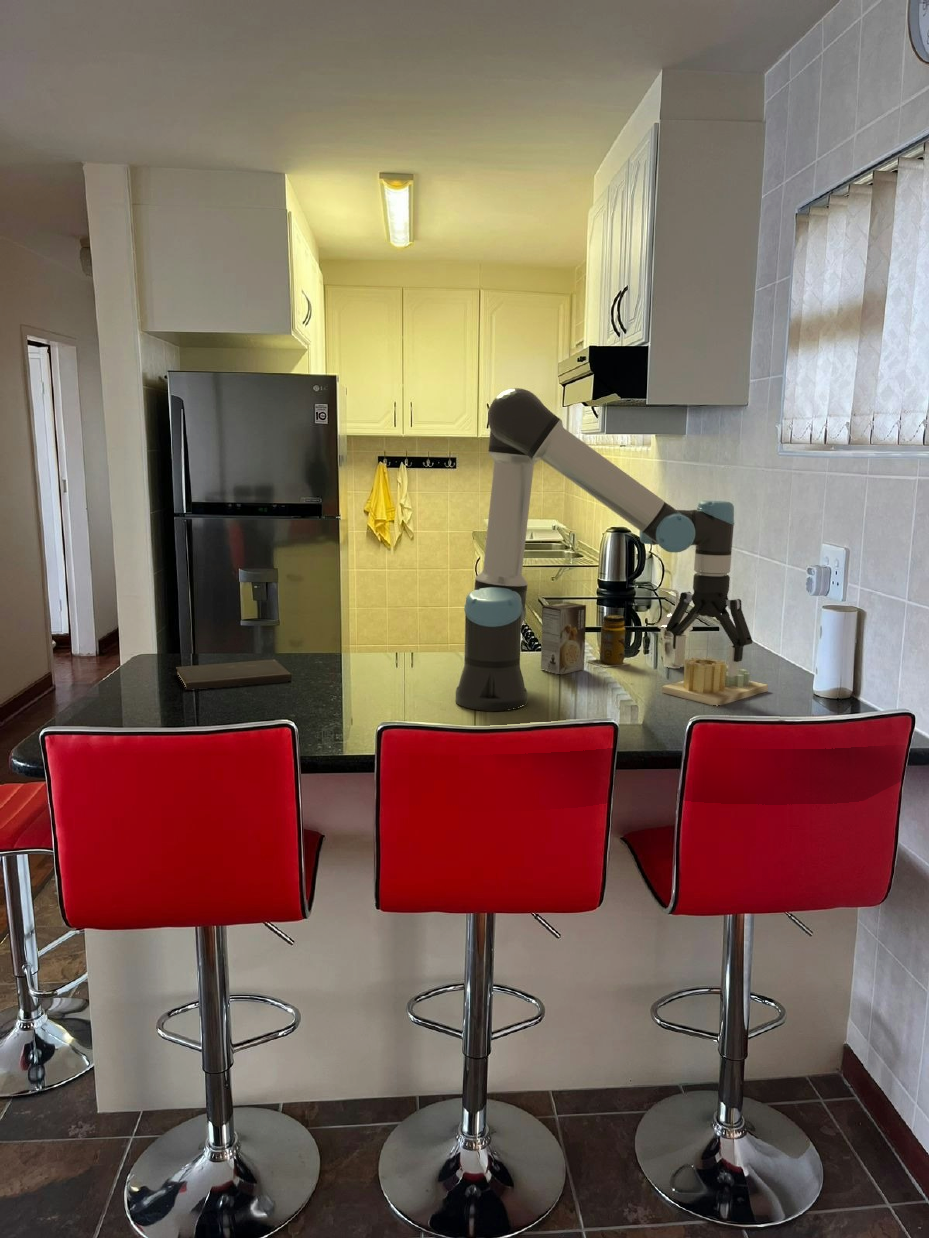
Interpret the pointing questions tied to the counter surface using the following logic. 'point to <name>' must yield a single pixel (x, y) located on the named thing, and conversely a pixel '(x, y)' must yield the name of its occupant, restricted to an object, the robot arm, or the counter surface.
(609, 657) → the condiment
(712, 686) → the brass gear
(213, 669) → the hardcover book
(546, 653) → the brown and white box
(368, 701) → the counter surface
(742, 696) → the board
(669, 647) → the cup with straw
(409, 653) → the counter surface
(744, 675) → the crank gear
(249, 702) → the counter surface
